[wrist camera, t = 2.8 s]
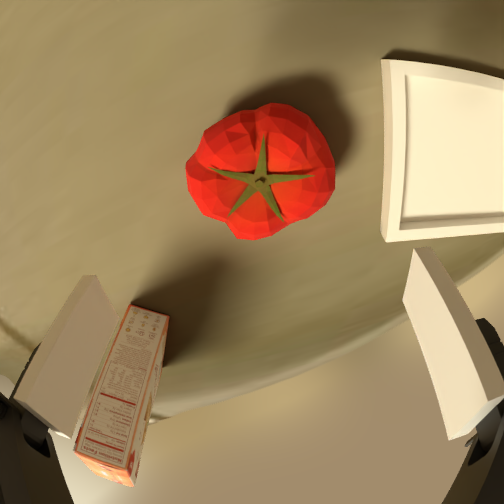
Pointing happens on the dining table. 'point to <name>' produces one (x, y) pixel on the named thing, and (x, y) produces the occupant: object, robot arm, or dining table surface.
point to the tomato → (261, 170)
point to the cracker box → (124, 397)
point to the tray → (441, 152)
